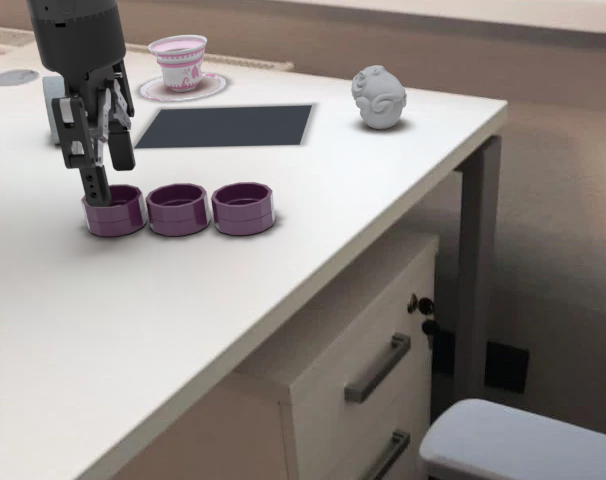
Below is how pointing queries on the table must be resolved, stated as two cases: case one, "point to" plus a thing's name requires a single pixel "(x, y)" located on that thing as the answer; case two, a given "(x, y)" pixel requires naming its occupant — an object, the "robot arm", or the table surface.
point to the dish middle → (178, 209)
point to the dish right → (243, 208)
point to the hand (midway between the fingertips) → (113, 186)
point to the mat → (226, 127)
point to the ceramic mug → (51, 89)
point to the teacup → (180, 65)
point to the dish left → (117, 212)
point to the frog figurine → (378, 97)
